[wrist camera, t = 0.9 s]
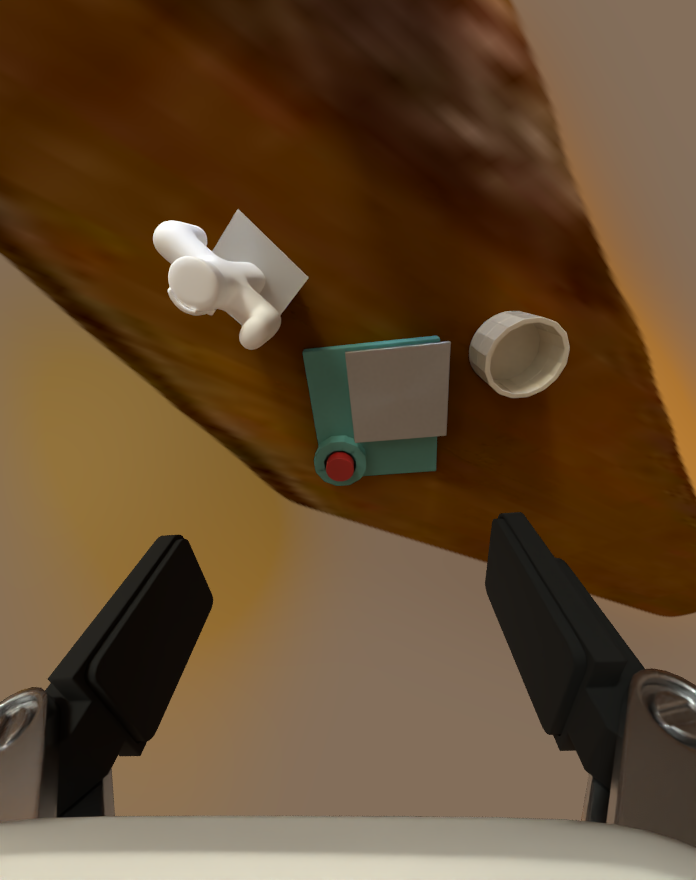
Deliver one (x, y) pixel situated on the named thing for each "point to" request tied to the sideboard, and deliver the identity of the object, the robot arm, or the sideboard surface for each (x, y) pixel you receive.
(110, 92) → the sideboard surface
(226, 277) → the figurine
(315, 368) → the scale
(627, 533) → the sideboard surface
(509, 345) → the cup
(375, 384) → the weighing plate
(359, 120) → the sideboard surface
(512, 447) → the sideboard surface
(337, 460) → the tare button
